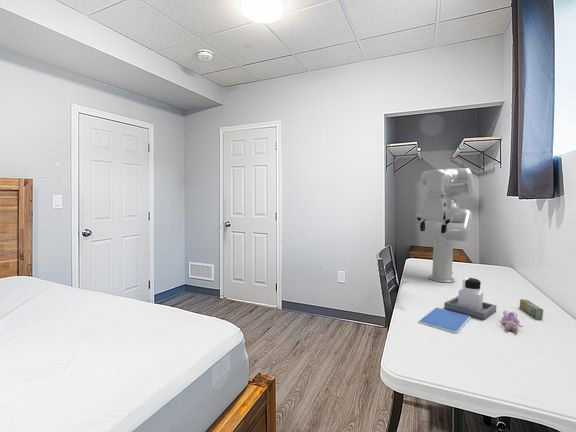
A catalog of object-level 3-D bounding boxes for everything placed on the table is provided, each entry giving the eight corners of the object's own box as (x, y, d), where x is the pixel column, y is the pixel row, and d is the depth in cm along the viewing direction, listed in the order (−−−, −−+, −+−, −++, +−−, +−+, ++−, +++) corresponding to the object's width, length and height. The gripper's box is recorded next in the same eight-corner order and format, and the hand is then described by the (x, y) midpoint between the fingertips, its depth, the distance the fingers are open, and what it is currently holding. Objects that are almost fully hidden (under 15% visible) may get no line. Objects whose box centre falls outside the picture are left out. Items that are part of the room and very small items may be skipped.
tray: (458, 301, 129) (458, 295, 129) (496, 311, 119) (496, 305, 118) (444, 308, 120) (444, 302, 120) (483, 320, 110) (484, 313, 109)
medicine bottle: (482, 308, 120) (484, 279, 119) (478, 313, 115) (480, 282, 114) (462, 303, 125) (464, 275, 124) (457, 308, 119) (459, 278, 119)
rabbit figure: (523, 339, 98) (520, 318, 110) (524, 323, 97) (521, 303, 109) (499, 334, 101) (499, 314, 113) (500, 318, 100) (500, 299, 112)
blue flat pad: (456, 336, 98) (457, 332, 97) (417, 324, 106) (417, 320, 106) (471, 319, 112) (471, 316, 111) (435, 310, 120) (435, 306, 120)
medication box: (543, 320, 112) (544, 309, 111) (534, 319, 112) (535, 308, 112) (526, 308, 123) (527, 299, 123) (518, 308, 124) (519, 298, 124)
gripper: (457, 196, 138) (455, 233, 139) (420, 196, 151) (418, 229, 152) (450, 196, 133) (448, 234, 134) (413, 195, 146) (411, 230, 147)
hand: (432, 232), depth 143 cm, fingers open, 9 cm apart
